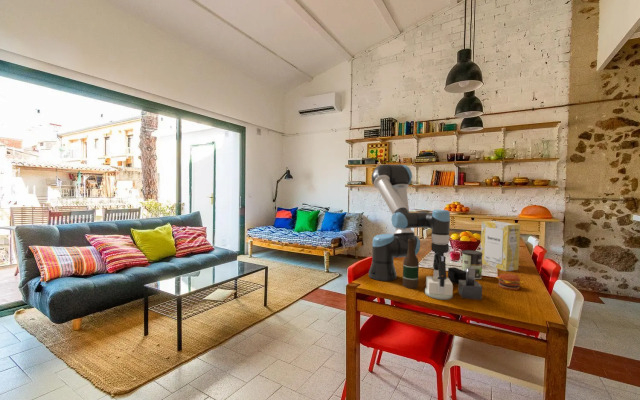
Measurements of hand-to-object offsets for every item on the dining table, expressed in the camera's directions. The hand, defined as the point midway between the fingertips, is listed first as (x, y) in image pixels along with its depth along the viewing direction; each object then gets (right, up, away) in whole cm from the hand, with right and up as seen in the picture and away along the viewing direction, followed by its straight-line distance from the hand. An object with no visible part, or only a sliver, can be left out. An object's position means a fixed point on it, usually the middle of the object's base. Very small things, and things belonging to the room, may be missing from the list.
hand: (438, 288), depth 138 cm
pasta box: (+58, -1, +50) cm, 76 cm away
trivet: (0, -3, 0) cm, 3 cm away
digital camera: (+16, -3, +17) cm, 24 cm away
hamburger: (+40, -3, +12) cm, 42 cm away
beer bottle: (-10, -3, +12) cm, 15 cm away
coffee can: (+30, -2, +28) cm, 41 cm away
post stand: (+14, -3, -1) cm, 14 cm away
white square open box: (0, -1, 0) cm, 1 cm away
